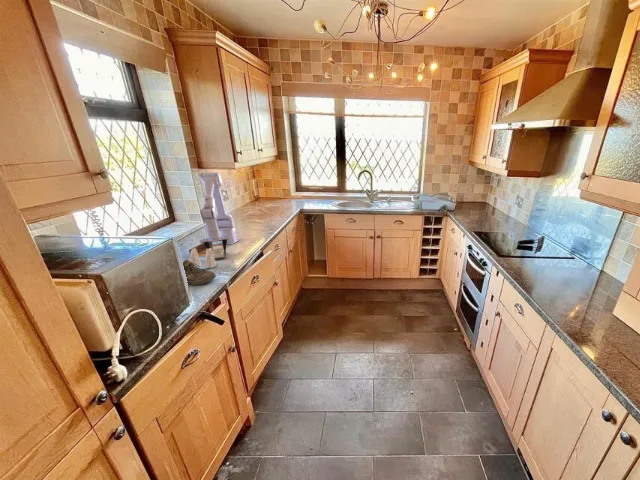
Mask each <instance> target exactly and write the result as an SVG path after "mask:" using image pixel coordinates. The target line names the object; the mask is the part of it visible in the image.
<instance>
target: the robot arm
mask: <svg viewBox="0 0 640 480" xmlns="http://www.w3.org/2000/svg"><path fill="white" fill-rule="evenodd" d="M199 180H200V183H201V184H202V186H203V187H204V196H203V197H202V207H201V208H202V209H200V218H201V220H202V222H203V224H204V225H205V230H206V233H207V238H201V239H199V244H203V243H204V245H205V247H206V248H207V249H209V248H211V247H210V242H212V243H219V242H220V243H219V245H223V248H224V249H223V251H224V255H226V254H227V247H226V245H233V244H235V243H237V242H238V241H240V239H239V238H238V234H237V230H236V228H235V220H234V218H233V216H232V214H230V213H228V212H227V210H226V206H225V203H224V198H223V194H222V191H221V187H222V186H223V179H222V175H221V173H219V172H200V173H199Z"/></svg>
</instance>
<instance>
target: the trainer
mask: <svg viewBox="0 0 640 480" xmlns="http://www.w3.org/2000/svg"><path fill="white" fill-rule="evenodd" d="M213 254H214V259H215V261H219V260H224V259H225V253H224V249H223V248H222V246H216V247H213Z"/></svg>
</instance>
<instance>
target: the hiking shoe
mask: <svg viewBox="0 0 640 480" xmlns="http://www.w3.org/2000/svg"><path fill="white" fill-rule="evenodd" d="M182 263H183V266H184V270H185V274H186V277H187V281H188V283H187V284H189V285H191V286H196V285H197V286H199V285H203V284H206V283H209V282H210V281H213V280H214V279H216V278H217V275H216V272H214V271H213V270H209V269H206V268H202V266H199V265H197V264H195V265H197V266H199V267H200V268H198V267H197V266H195V265H194V263H192V262H190V259H185V260H184V261H182V262H181V264H182ZM194 266H195V267H196V268H195V267H194Z"/></svg>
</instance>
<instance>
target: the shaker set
mask: <svg viewBox="0 0 640 480" xmlns="http://www.w3.org/2000/svg"><path fill="white" fill-rule="evenodd" d="M193 248H194V247H193ZM191 249H192V248H191ZM189 256H190V257H189V261H190V262H192V263H194V265H195V264H197V265H199V266H201V267H202V266H203V265H202V263H201V259H200V256H198V253H197V250H196V249H195V248H194V250H193V249H192V250H191V254H190V253H189ZM216 262H217V261H216V260H215V259H214V255H213V252H212V250H211V248H209V249H207V252H206V256H205V266H204V269H209V268H211V269H212V268H215V267H216V266H217V263H216ZM197 265H195V266H197ZM195 266H194V267H195ZM199 266H197V267H198V268H200V269H201V267H199ZM195 268H196V267H195Z"/></svg>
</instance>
